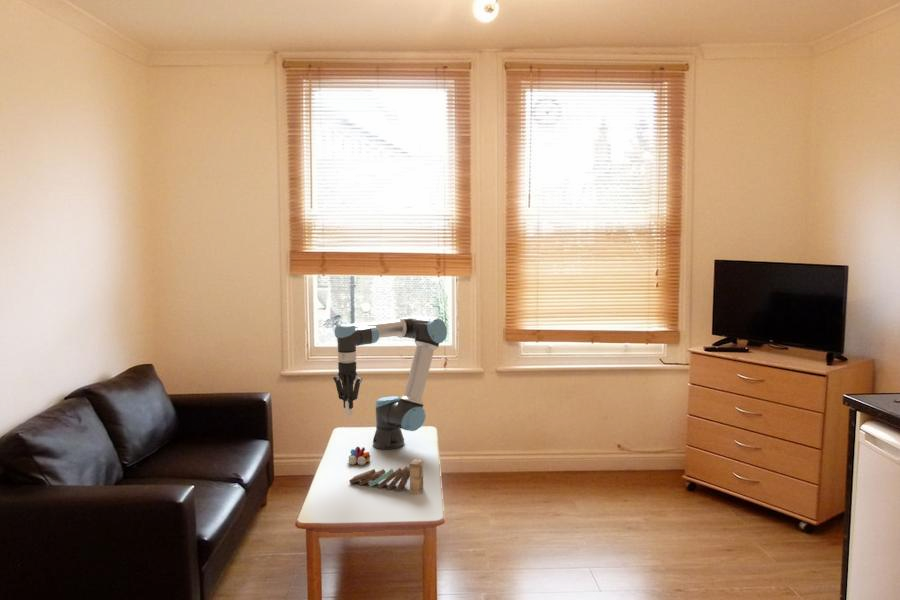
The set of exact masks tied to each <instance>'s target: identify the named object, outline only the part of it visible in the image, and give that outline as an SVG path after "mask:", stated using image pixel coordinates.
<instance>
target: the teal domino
mask: <svg viewBox="0 0 900 600" xmlns="http://www.w3.org/2000/svg"><path fill="white" fill-rule="evenodd" d="M394 472H395V471H394V470H393V468H391V469H389V470H387V471H385V473H384V474H383V475H382V476H381V477H379V478H377V479H374V480H372V481H370V482H368V483H367V484H368V486H369V487H370V488H372V487H373V486H375V485H377V484H379V483H381V482H383V481H384V480H385V479H386V478H387V477H389V476H390V475H391V474H393V473H394Z"/></svg>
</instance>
